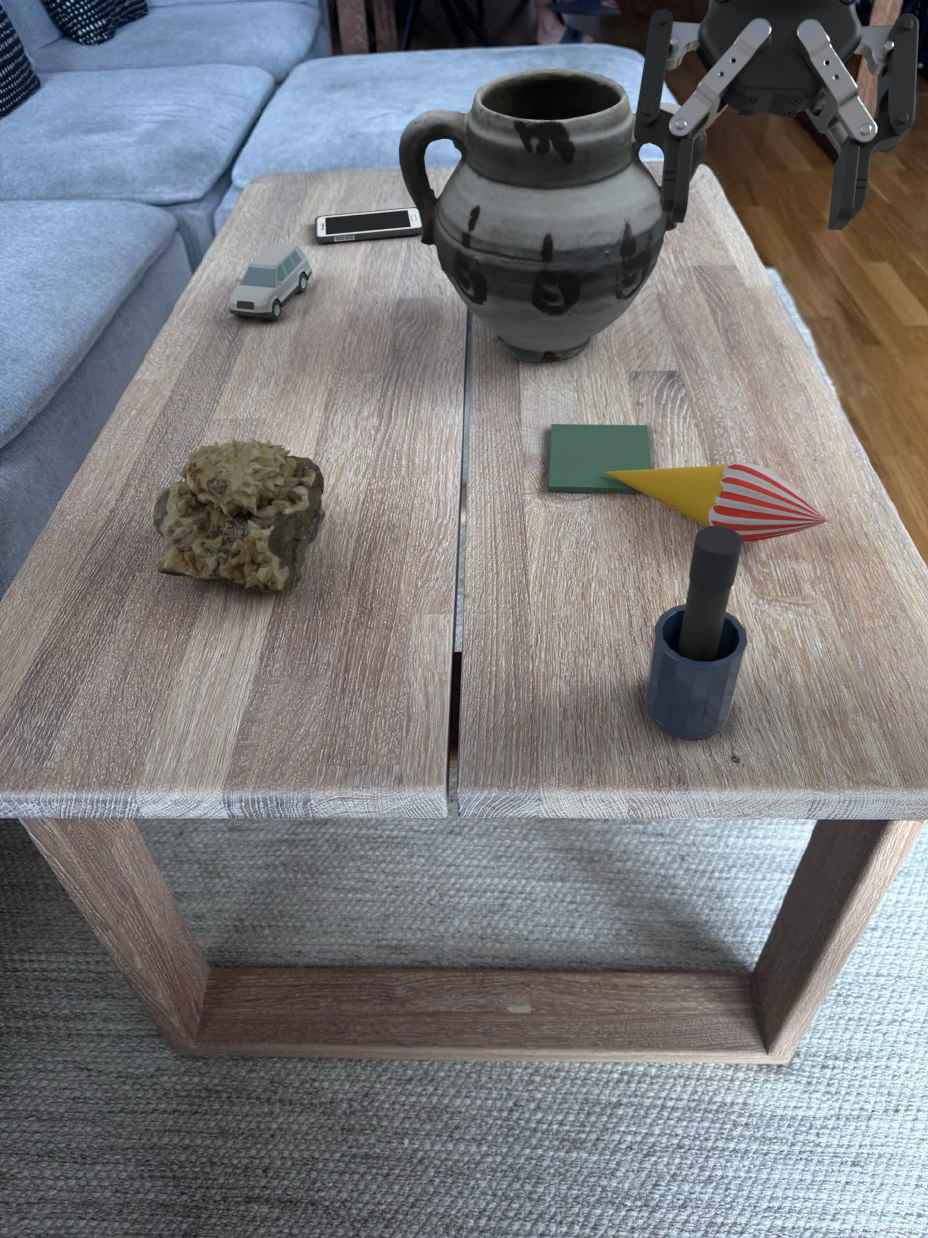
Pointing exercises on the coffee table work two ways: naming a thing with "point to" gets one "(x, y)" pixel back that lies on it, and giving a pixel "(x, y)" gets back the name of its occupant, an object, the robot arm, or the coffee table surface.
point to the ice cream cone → (729, 498)
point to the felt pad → (596, 456)
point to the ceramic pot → (542, 207)
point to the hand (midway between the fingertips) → (758, 221)
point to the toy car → (271, 282)
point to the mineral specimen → (241, 516)
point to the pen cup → (692, 679)
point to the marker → (709, 591)
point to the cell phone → (368, 225)
